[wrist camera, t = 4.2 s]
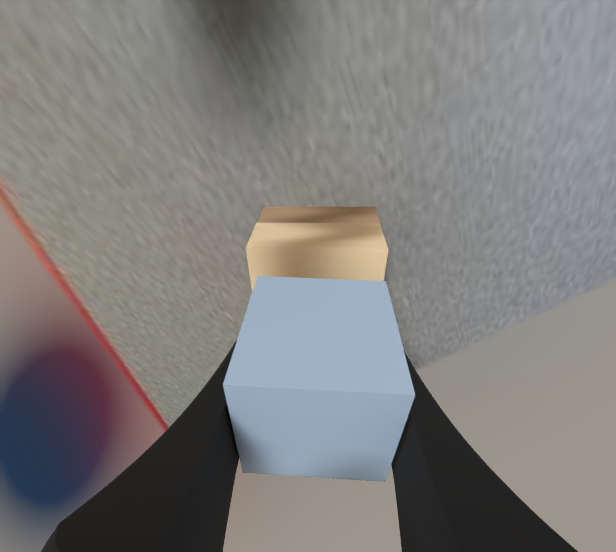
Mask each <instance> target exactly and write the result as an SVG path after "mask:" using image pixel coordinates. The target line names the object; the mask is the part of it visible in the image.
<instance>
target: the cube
mask: <svg viewBox="0 0 616 552" xmlns="http://www.w3.org/2000/svg"><path fill="white" fill-rule="evenodd" d="M223 388H224V392H225V397H226V401H227V405H228V410H229V414H230V419H231V423H232V427H233V432H234V436H235V441H236V445H237V449H238V454H239V458H240V463H241V467H242V471H243V473H257V474H272V475H273V474H274V475H288V476H305V477H321V478H336V479H351V480H367V481H384V482H385V481H386V478H387V475H388V472H389V469H390V466H391V464H392V461H393V458H394V455H395V452H396V449H397V446H398V443H399V441H400V438H401V435H402V432H403V429H404V426H405V423H406V421H407V418H408V415H409V412H410V409H411V406H412V403H413V400H414V398H415V392H414V388H413V384H412V380H411V376H410V373H409V369H408V365H407V361H406V357H405V353H404V349H403V345H402V342H401V338H400V334H399V330H398V326H397V322H396V318H395V315H394V311H393V307H392V303H391V299H390V295H389V291H388V287H387V284H386V281H368V280H344V279H320V278H296V277H272V276H258V277H257V280H256V283H255V286H254V289H253V292H252V295H251V298H250V302H249V305H248V308H247V311H246V314H245V317H244V320H243V323H242V326H241V330H240V333H239V336H238V339H237V342H236V345H235V348H234V351H233V355H232V358H231V361H230V364H229V367H228V370H227V373H226V376H225V380H224V383H223Z"/></svg>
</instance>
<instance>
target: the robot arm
mask: <svg viewBox="0 0 616 552" xmlns="http://www.w3.org/2000/svg"><path fill="white" fill-rule="evenodd" d="M236 342H237V341H236ZM236 342H235V343H234V345H233V347H232V348H231V350H230V351H229V353H228V354H227V356H226V357H225V359H224V360H223V362H222V363H221V365H220V366H219V368H218V369H217V370H216V372H215V373H214V375H213V376H212V377H211V379H210V380H209V381H208V383H207V384H206V385H205V387H204V388H203V389H202V390H201V392H200V393H199V394H198V395H197V397H196V398H195V399H194V400H193V401H192V403H191V404H190V405H189V406H188V408H187V409H186V410H185V411H184V412H183V413H182V414H181V416H180V417H179V418H178V419H177V420H176V421H175V422H174V423H173V424H172V425H171V426H170V427H169V428H168V430H167V431H166V432H165V433H164V434H163V435H162V436H161V437H160V438H159V439H158V440H157V441H156V442H155V443H154V444H153V445H152V446H151V447H150V448H149V449H148V450H146V451H145V453H143V454H142V455H141V456H140V457H139V458H138V459H137V460H136V461H135V462H134V463H132V464H131V465H130V466H129V467H128V468H127V469H125V470H124V471H123V472H122V473H121V474H120V475H119V476H117V477H116V478H115V479H114V480H113V481H112V482H111V483H109V484H108V485H107V486H106V487H105V488H103V489H102V490H101V491H100V492H99V493H97V494H96V495H95V496H94V497H92V498H91V499H90V500H88V501H87V502H86V503H85V504H83V505H82V506H81V507H79V508H78V509H77V510H76V511H74V512H73V513H72V514H71V515H69V516H68V517H67V518H65V519H64V520H63V521H61V522H60V523H59V525H58V526H57V528H56V529H55V531H54V532H53V534H52V535H51V536H50V538H49V540H48V541H47V542H46V544H45V546H44V547H43V549H42V551H41V552H223V545H224V539H225V532H226V526H227V520H228V514H229V508H230V502H231V497H232V491H233V485H234V479H235V473H236V469H237V465H238V460H239V454H238V449H237V445H236V441H235V436H234V432H233V427H232V423H231V419H230V414H229V410H228V405H227V401H226V397H225V392H224V388H223V383H224V380H225V376H226V373H227V370H228V367H229V364H230V361H231V358H232V355H233V351H234V348H235V345H236ZM404 353H405V351H404ZM405 357H406V361H407V365H408V369H409V373H410V376H411V380H412V384H413V388H414V392H415V398H414V400H413V403H412V406H411V409H410V412H409V415H408V418H407V421H406V423H405V426H404V429H403V432H402V435H401V438H400V441H399V443H398V446H397V449H396V452H395V455H394V458H393V461H392V464H391V465H392V470H393V475H394V483H395V491H396V499H397V508H398V518H399V527H400V536H401V547H402V552H578V551H577V550H575V549H574V548H573V547H572V546H571V545H570V544H568V543H567V542H566V541H565V540H564V539H563V538H562V537H561V536H559V535H558V534H557V533H556V532H555V531H554V530H553V529H551V528H550V527H549V526H548V525H547V524H546V523H545V522H544V521H543V520H542V519H541V518H539V517H538V516H537V515H536V514H535V513H534V512H533V511H532V510H531V509H530V508H529V507H528V506H527V505H526V504H525V503H524V502H523V501H522V500H521V499H519V497H518V496H517V495H516V494H515V493H514V492H513V491H512V490H511V489H510V488H509V487H508V486H507V485H506V484H505V483H504V482H503V481H502V480H501V479H500V478H499V477H498V476H497V475H496V474H495V473H494V472H493V471H492V470H491V469H490V468H489V466H488V465H486V463H485V462H484V461H483V460H482V459H481V458H480V456H479V455H478V454H477V453H476V452H475V451H474V450H473V448H471V446H470V445H469V444H468V443H467V441H466V440H465V439H464V438H463V437H462V435H461V434H460V433H459V432H458V430H457V429H456V428H455V427H454V425H453V424H452V423H451V421H450V420H449V419H448V418H447V416H446V415H445V414H444V412H443V411H442V409H441V408H440V407H439V405H438V404H437V402H436V401H435V400H434V398H433V397H432V395H431V394H430V392H429V391H428V389H427V388H426V386H425V385H424V383H423V382H422V380H421V379H420V377H419V375H418V374H417V372H416V370H415V369H414V367H413V365H412V364H411V362H410V360H409V359H408V357H407V355H406V353H405Z"/></svg>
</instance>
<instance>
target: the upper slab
mask: <svg viewBox="0 0 616 552" xmlns="http://www.w3.org/2000/svg"><path fill="white" fill-rule="evenodd" d="M246 252H247V259H248V266H249V273H250V280H251V286H252V292H253V289H254V286H255V283H256V280H257V277H258V276H272V277H296V278H320V279H344V280H368V281H384V275H385V268H386V261H387V255H388V247H387V244H386V241H385V238H384V235H383V232H382V229H381V225H380V223H256V225H255V227H254V230H253V232H252V235H251V237H250V239H249V242H248V244H247V247H246Z"/></svg>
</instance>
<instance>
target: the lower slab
mask: <svg viewBox="0 0 616 552" xmlns="http://www.w3.org/2000/svg"><path fill="white" fill-rule="evenodd" d="M258 223H380V220H379V217H378V214H377V211H376V208H375V207H264V208H263V211H262V213H261V216H260V218H259V221H258ZM380 225H381V223H380Z"/></svg>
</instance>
